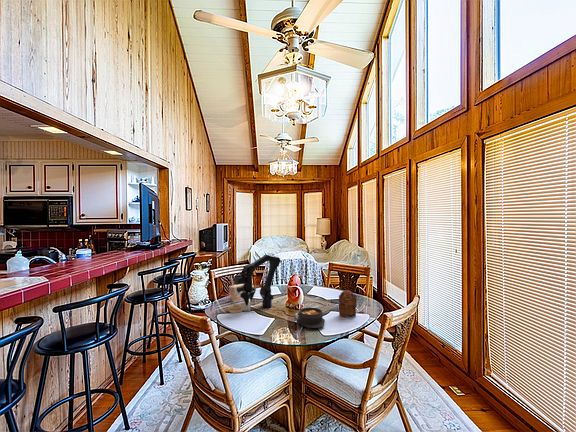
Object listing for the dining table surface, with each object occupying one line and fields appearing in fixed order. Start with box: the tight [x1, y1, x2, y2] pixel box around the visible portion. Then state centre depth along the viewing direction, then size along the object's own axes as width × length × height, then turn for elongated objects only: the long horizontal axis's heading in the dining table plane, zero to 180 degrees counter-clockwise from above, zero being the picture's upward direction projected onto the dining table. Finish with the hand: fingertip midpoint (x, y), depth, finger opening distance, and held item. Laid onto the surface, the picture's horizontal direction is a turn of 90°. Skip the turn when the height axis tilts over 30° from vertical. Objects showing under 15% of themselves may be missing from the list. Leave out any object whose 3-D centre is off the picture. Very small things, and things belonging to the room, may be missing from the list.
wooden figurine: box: [338, 289, 357, 319], centre depth 216 cm, size 12×6×18 cm, turn 95°
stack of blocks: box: [228, 284, 244, 303], centre depth 262 cm, size 21×6×12 cm, turn 143°
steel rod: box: [246, 299, 252, 313], centre depth 228 cm, size 3×3×9 cm
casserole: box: [296, 307, 326, 329], centre depth 202 cm, size 25×19×8 cm
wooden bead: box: [228, 303, 244, 314], centre depth 230 cm, size 10×10×4 cm
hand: (248, 303), depth 228 cm, fingers open, 9 cm apart
